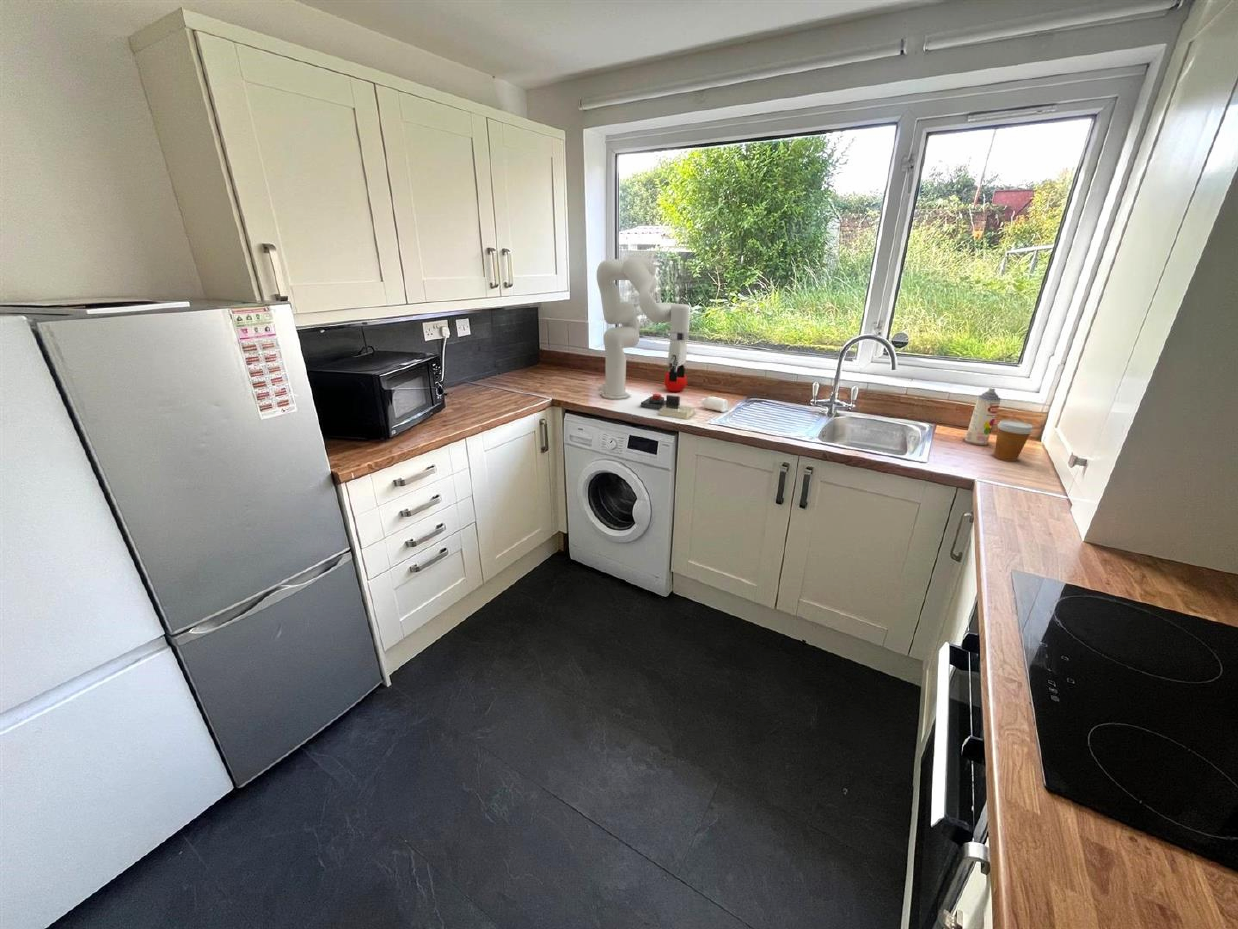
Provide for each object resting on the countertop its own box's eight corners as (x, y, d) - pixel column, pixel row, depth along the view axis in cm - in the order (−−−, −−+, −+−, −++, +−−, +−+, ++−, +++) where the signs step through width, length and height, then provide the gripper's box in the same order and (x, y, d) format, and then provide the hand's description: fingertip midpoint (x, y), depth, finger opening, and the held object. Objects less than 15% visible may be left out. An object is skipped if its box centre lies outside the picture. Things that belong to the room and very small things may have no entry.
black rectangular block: (665, 407, 209) (666, 394, 207) (667, 406, 211) (668, 394, 209) (678, 408, 207) (679, 396, 205) (679, 407, 208) (680, 395, 207)
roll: (703, 405, 223) (704, 393, 221) (727, 410, 216) (729, 397, 214) (696, 408, 219) (697, 395, 217) (721, 413, 212) (722, 400, 210)
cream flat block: (657, 414, 207) (657, 408, 206) (665, 409, 216) (666, 403, 215) (686, 419, 202) (687, 412, 201) (694, 413, 211) (694, 407, 210)
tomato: (670, 387, 256) (671, 367, 252) (690, 390, 250) (692, 370, 246) (658, 391, 247) (659, 370, 243) (678, 394, 241) (680, 373, 237)
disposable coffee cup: (1024, 465, 161) (1036, 429, 157) (988, 459, 166) (999, 424, 162) (1020, 456, 169) (1032, 422, 165) (987, 451, 174) (997, 418, 169)
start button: (651, 399, 217) (651, 395, 217) (654, 397, 220) (654, 393, 220) (659, 400, 216) (659, 396, 215) (661, 398, 219) (662, 394, 218)
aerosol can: (979, 446, 178) (996, 391, 171) (960, 440, 184) (976, 387, 177) (991, 444, 181) (1008, 390, 174) (972, 438, 187) (987, 385, 179)
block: (640, 407, 218) (641, 398, 216) (648, 402, 225) (648, 394, 224) (664, 410, 214) (664, 401, 212) (671, 405, 221) (672, 397, 220)
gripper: (677, 333, 207) (674, 374, 213) (662, 338, 193) (660, 382, 199) (694, 335, 204) (691, 376, 210) (681, 339, 190) (678, 384, 196)
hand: (676, 379), depth 205 cm, fingers open, 9 cm apart
